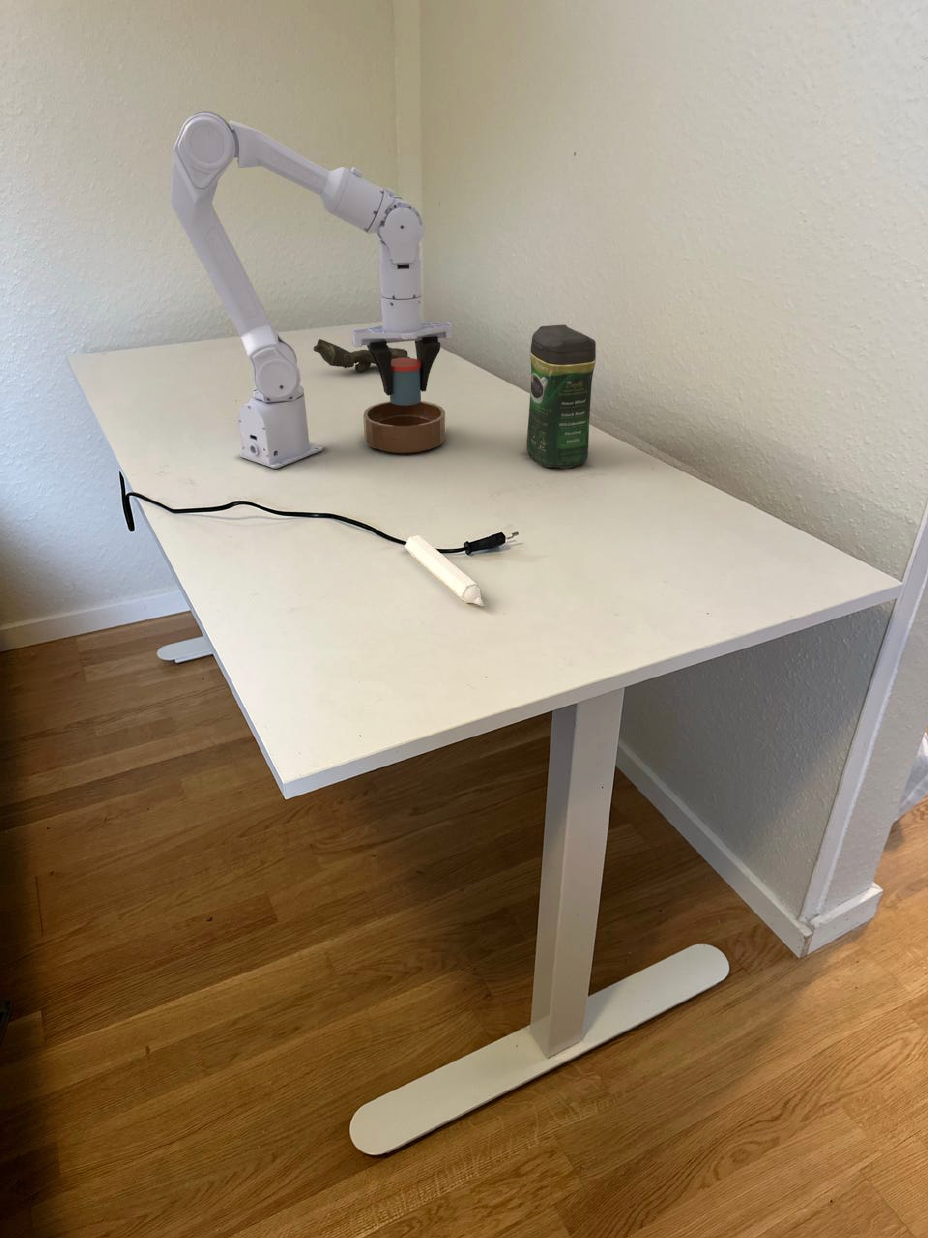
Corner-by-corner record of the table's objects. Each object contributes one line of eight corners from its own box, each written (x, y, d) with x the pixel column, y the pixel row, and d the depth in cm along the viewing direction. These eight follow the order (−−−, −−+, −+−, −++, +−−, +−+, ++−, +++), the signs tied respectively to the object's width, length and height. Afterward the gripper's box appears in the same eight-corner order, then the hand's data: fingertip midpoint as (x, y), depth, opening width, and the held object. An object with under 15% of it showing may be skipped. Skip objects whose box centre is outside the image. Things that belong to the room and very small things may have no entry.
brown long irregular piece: (402, 373, 170) (307, 368, 159) (403, 344, 168) (308, 337, 157) (417, 376, 165) (320, 371, 154) (419, 346, 163) (321, 339, 152)
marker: (483, 620, 89) (411, 556, 101) (498, 607, 90) (425, 545, 101) (472, 605, 88) (401, 542, 99) (488, 591, 88) (415, 530, 99)
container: (407, 408, 124) (405, 368, 121) (382, 401, 127) (380, 362, 124) (428, 399, 127) (427, 361, 124) (404, 393, 130) (402, 355, 127)
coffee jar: (595, 466, 123) (607, 334, 113) (544, 473, 120) (552, 339, 110) (566, 443, 130) (575, 317, 120) (518, 449, 128) (523, 322, 118)
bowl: (409, 462, 124) (408, 432, 121) (348, 443, 130) (346, 415, 128) (461, 438, 132) (461, 410, 130) (401, 422, 138) (400, 394, 136)
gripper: (357, 305, 114) (363, 404, 121) (459, 297, 118) (460, 393, 125) (345, 294, 119) (352, 390, 127) (443, 287, 123) (444, 380, 131)
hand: (404, 391), depth 126 cm, fingers closed on container, 5 cm apart
